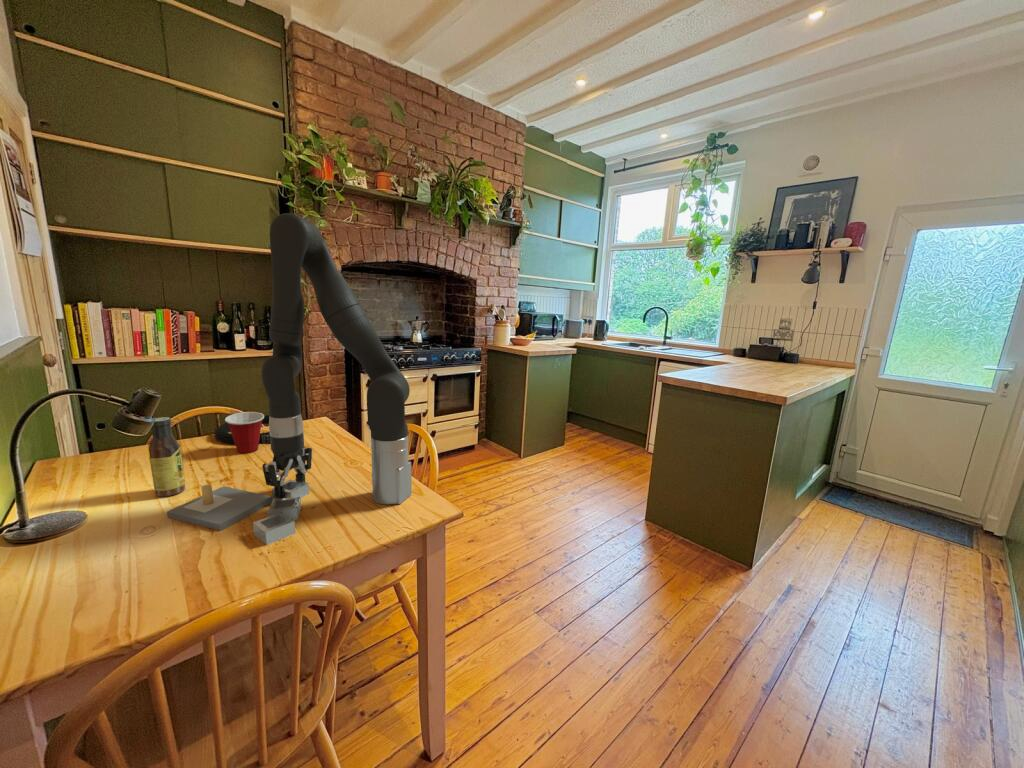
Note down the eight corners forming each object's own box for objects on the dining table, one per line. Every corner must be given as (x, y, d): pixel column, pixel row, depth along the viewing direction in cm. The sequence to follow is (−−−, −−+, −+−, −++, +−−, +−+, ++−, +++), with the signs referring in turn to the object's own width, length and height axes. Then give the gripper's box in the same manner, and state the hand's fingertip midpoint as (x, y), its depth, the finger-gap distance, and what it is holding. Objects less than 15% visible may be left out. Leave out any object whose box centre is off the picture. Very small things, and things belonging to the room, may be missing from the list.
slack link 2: (282, 523, 95) (281, 511, 94) (295, 533, 91) (294, 520, 91) (254, 534, 90) (253, 522, 89) (266, 545, 86) (265, 532, 86)
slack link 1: (301, 507, 102) (300, 496, 101) (297, 520, 96) (296, 508, 96) (274, 510, 100) (273, 499, 99) (268, 523, 94) (267, 511, 94)
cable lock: (280, 409, 172) (316, 425, 154) (280, 418, 173) (317, 434, 155) (201, 423, 150) (233, 443, 133) (202, 433, 151) (234, 454, 133)
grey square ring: (309, 493, 109) (308, 482, 109) (291, 503, 104) (290, 492, 103) (291, 489, 111) (290, 479, 110) (272, 499, 105) (271, 488, 105)
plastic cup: (231, 459, 128) (227, 423, 126) (225, 449, 136) (222, 414, 134) (270, 452, 136) (267, 417, 133) (263, 442, 143) (260, 410, 141)
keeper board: (272, 501, 104) (270, 480, 103) (220, 530, 91) (217, 505, 90) (224, 491, 108) (222, 470, 107) (167, 517, 95) (164, 493, 94)
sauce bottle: (188, 492, 107) (179, 419, 103) (157, 500, 102) (146, 424, 98) (183, 484, 111) (174, 414, 107) (153, 491, 107) (142, 418, 103)
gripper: (275, 442, 96) (280, 507, 99) (319, 425, 109) (322, 483, 113) (250, 438, 98) (255, 502, 101) (296, 422, 111) (300, 479, 115)
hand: (291, 492), depth 107 cm, fingers closed on grey square ring, 6 cm apart
